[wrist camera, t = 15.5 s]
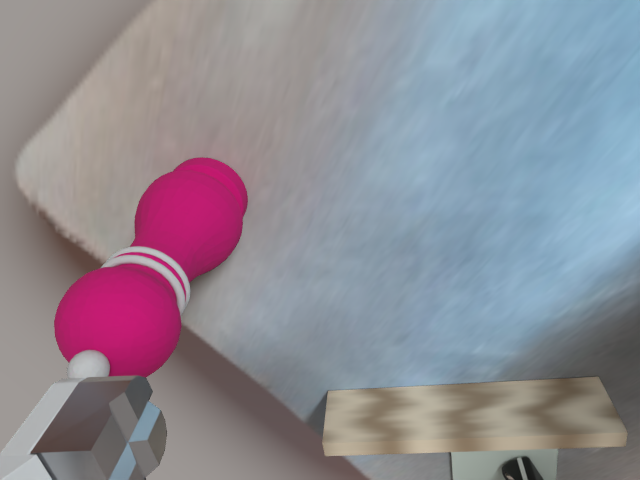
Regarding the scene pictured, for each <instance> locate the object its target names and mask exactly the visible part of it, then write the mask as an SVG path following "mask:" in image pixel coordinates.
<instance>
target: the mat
mask: <svg viewBox="0 0 640 480" xmlns="http://www.w3.org/2000/svg"><path fill="white" fill-rule="evenodd" d="M519 457H529V458H530V460H531V461H532V463H533V464H534V466H535V467H536V469H537V470H538V472H539V473H540V475H541V476H542V478H543V479H544V480H556V472H557V459H558V449H533V450H501V451H470V452H451V461H452V476H453V480H506V479H505V478H504V476H503V474H502V467H503V465H504V464H506V463H508V462H510V461H512V460H516V459H517V458H519Z"/></svg>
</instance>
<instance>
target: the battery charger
mask: <svg viewBox="0 0 640 480" xmlns="http://www.w3.org/2000/svg"><path fill="white" fill-rule="evenodd" d="M502 474H503V476H504V478H505V479H506V480H544V479H543V478H542V476H541V475H540V473H539V472H538V470H537V469H536V467H535V466H534V464H533V463H532V461H531V460H530V458H529V457H519V458H517V459H516V460H512V461H510V462H508V463H506V464H504V465H503V467H502Z"/></svg>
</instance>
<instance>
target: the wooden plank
mask: <svg viewBox="0 0 640 480" xmlns="http://www.w3.org/2000/svg"><path fill="white" fill-rule="evenodd" d="M627 434H628V432H627V430H626V428H625V426H624V424H623V422H622V421H621V419H620V417H619V415H618V413H617V411H616V409H615V407H614V405H613V403H612V402H611V400H610V398H609V396H608V394H607V392H606V390H605V388H604V386H603V384H602V382H601V381H600V379H599V377H582V378H563V379H544V380H525V381H506V382H487V383H468V384H449V385H430V386H411V387H392V388H373V389H354V390H335V391H328V395H327V404H326V413H325V423H324V432H323V441H322V444H323V449H324V453H325V456H344V455H376V454H407V453H439V452H470V451H501V450H533V449H564V448H596V447H625V446H626V440H627Z"/></svg>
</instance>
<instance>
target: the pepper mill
mask: <svg viewBox="0 0 640 480" xmlns="http://www.w3.org/2000/svg"><path fill="white" fill-rule="evenodd" d="M247 202H248V197H247V191H246V188H245V186H244V183H243V182H242V180H241V178H240V177H239V176H238V174H237V173H236V172H235V171H234V170H233V169H231V168H230V167H229V166H228V165H226V164H224V163H222V162H220V161H217V160H214V159H211V158H193V159H190V160H187V161H185V162H183V163H181V164H180V165H179V166H178V167H176V168H175V170H174V171H173V172H170V173H167V174H165V175H163V176H161V177H159V178H158V179H156V180H155V181H154V182H153V183H152V184H151V185H150V186H149V187H148V188H147V190H146V191H145V193H144V194H143V196H142V197H141V199H140V201H139V204H138V207H137V211H136V215H135V240H134V241H133V243H132V244H131V246H130V247H127V248H123V249H121V250H119V251H117V252H115V253H114V254H113V255H112V256H110V258H109V259H108V260H107V262H106V263H105V264H104V265H103V266H102V267H101V268H100V269H97V270H94V271H91V272H89V273H87V274H86V275H84V276H83V277H81V278H80V279H78V280H77V281H76V282H75V283H74V284H73V285H72V286H71V287H70V288H69V290H67V292H66V294H65V295H64V297H63V298H62V300H61V301H60V303H59V306H58V309H57V312H56V316H55V321H54V327H55V337H56V341H57V344H58V346H59V349H60V351H61V352H62V355H63V356H64V357H65V358H66V360H67V361H68V362H69V365H68V368H67V376H68V378H87V377H109V376H137V375H138V376H142V377H147V376H149V375H150V374H152V373H154V372H155V371H156V370H157V369H159V368H160V367H161V366H162V365H163V364H164V363H165V362H166V361H167V359H168V358H169V357H170V355H171V354H172V352H173V350H174V349H175V347H176V345H177V342H178V340H179V335H180V331H181V316H182V314H183V311H184V309H185V308H186V306H187V304H188V302H189V299H190V284H189V283H190V282H191V281H192V280H193V279H194V278H196V277H197V276H199V275H201V274H204V273H206V272H208V271H210V270H212V269H214V268H215V267H217V266H218V265H220V264H221V263H222V262H223V261H225V260H226V259H227V257H228V256H229V255H230V254H231V253H232V251H233V250H234V248H235V247H236V245H237V243H238V242H239V239H240V237H241V233H242V225H243V221H242V218H243V216H244V214H245V212H246V208H247Z"/></svg>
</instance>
